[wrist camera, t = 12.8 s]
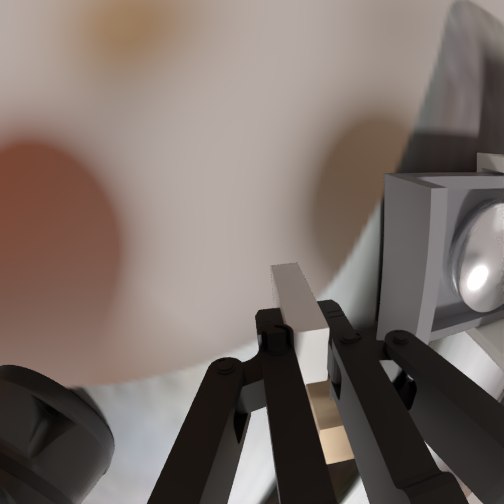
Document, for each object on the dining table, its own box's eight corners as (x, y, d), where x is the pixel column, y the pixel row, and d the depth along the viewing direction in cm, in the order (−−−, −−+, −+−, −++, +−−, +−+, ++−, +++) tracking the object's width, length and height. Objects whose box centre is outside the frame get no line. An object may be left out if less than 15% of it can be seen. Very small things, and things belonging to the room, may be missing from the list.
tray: (376, 338, 21) (404, 384, 16) (384, 173, 17) (431, 188, 12) (525, 296, 21) (558, 321, 17) (544, 174, 18) (586, 187, 13)
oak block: (305, 421, 25) (316, 466, 20) (306, 381, 23) (319, 430, 18) (360, 410, 25) (377, 451, 20) (366, 370, 23) (389, 413, 19)
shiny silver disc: (439, 309, 20) (451, 322, 18) (452, 199, 17) (469, 206, 16) (507, 291, 20) (520, 301, 19) (522, 197, 18) (538, 203, 16)
